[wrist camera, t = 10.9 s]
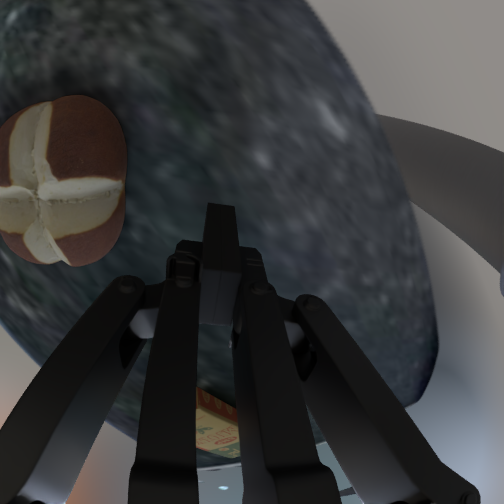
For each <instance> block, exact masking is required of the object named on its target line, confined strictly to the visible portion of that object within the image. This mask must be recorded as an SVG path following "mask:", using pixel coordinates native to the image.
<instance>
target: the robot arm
mask: <svg viewBox="0 0 504 504" xmlns="http://www.w3.org/2000/svg"><path fill="white" fill-rule="evenodd" d="M262 261H263V260H262V256H261V254H260V253H259V252H258V250H257V249H256V248H250V247H242V246H239V240H238V232H237V224H236V216H235V208H234V206H228V205H221V204H214V203H208V206H207V212H206V219H205V226H204V233H203V241H202V242H197V241H189V240H182V241H180V242H179V243H178V244H177V246H176V250H175V254H173V255H171V256H169V257H168V259H167V265H166V280H165V281H163V282H162V283H159V284H155V285H146V286H145V283H144V282H143V281H142V280H141V279H140V278H138V277H136V276H130V275H126V276H120V277H117V278H116V279H114V280H113V281H112V282H111V283H110V284H109V285H108V286H107V287H106V289H105V290H104V291H103V292H102V293H101V294H100V295H99V296H98V298H97V299H96V300H95V301H94V302H93V303H92V305H91V306H90V307H89V308H88V309H87V310H86V312H85V313H84V314H83V315H82V316H81V318H80V319H79V320H78V321H77V323H76V324H75V325H74V326H73V327H72V329H71V330H70V331H69V332H68V334H67V335H66V336H65V337H64V339H63V340H62V341H61V343H60V344H59V345H58V346H57V348H56V349H55V350H54V352H53V353H52V354H51V356H50V357H49V358H48V360H47V361H46V362H45V364H44V365H43V366H42V368H41V369H40V371H39V372H38V373H37V375H36V376H35V377H34V379H33V380H32V382H31V383H30V384H29V386H28V387H27V389H26V390H25V392H24V393H23V395H22V396H21V398H20V399H19V401H18V402H17V404H16V405H15V407H14V408H13V410H12V412H11V413H10V415H9V416H8V418H7V420H6V421H5V423H4V425H3V426H2V428H1V429H0V504H65V503H66V501H67V499H68V497H69V495H70V493H71V491H72V489H73V487H74V484H75V482H76V480H77V478H78V475H79V473H80V471H81V468H82V466H83V464H84V462H85V460H86V458H87V456H88V454H89V451H90V449H91V447H92V445H93V443H94V441H95V438H96V437H97V435H98V433H99V431H100V429H101V427H102V425H103V423H104V421H105V419H106V417H107V415H108V413H109V411H110V409H111V407H112V405H113V403H114V401H115V399H116V397H117V395H118V393H119V392H120V390H121V388H122V386H123V384H124V382H125V380H126V378H127V376H128V375H129V373H130V371H131V369H132V367H133V365H134V363H135V362H136V360H137V358H138V356H139V354H140V353H141V351H142V349H143V347H144V345H145V344H146V342H147V338H152V337H153V340H152V345H151V350H150V356H149V361H148V367H147V373H146V379H145V385H144V392H143V398H142V405H141V413H140V420H139V429H138V437H137V447H136V457H135V462H134V464H133V466H132V468H131V472H130V477H129V488H128V504H199V491H198V475H197V467H196V382H197V350H198V328H199V323H202V324H212V325H223V326H231V323H232V319H233V329H232V334H231V338H230V342H229V348H231V346H232V356H233V370H234V384H235V397H236V409H237V421H238V433H239V444H240V454H241V465H242V473H243V474H242V475H243V484H244V492H243V499H242V504H342V502H341V498H340V494H339V490H338V486H337V482H336V479H335V476H334V474H333V472H332V470H331V469H330V468H329V467H327V466H325V465H323V464H322V463H321V462H320V460H319V457H318V453H317V449H316V445H315V440H314V436H313V432H312V428H311V424H310V420H309V416H308V412H307V408H306V405H307V406H308V408H309V410H310V412H311V414H312V416H313V418H314V419H315V421H316V423H317V425H318V427H319V428H320V430H321V432H322V434H323V436H324V438H325V439H326V441H327V443H328V445H329V446H330V448H331V450H332V452H333V454H334V455H335V457H336V459H337V461H338V462H339V464H340V466H341V468H342V470H343V471H344V473H345V475H346V477H347V478H348V480H349V482H350V484H351V485H352V487H353V489H354V490H355V492H356V494H357V496H358V497H359V499H360V500H361V502H362V503H363V504H480V503H481V502H480V494H479V491H478V489H477V488H476V487H475V486H474V485H472V484H471V483H469V482H468V481H467V480H465V479H464V478H463V477H461V476H460V475H458V474H457V473H456V472H454V471H453V470H452V469H450V468H449V467H448V466H446V465H445V464H444V463H442V462H441V461H440V459H439V458H438V457H437V455H436V453H435V452H434V451H433V449H432V448H431V446H430V445H429V443H428V442H427V440H426V439H425V438H424V436H423V435H422V433H421V432H420V431H419V429H418V428H417V426H416V425H415V423H414V422H413V420H412V419H411V418H410V416H409V415H408V413H407V412H406V410H405V409H404V408H403V406H402V405H401V403H400V402H399V401H398V399H397V398H396V396H395V395H394V394H393V392H392V391H391V390H390V388H389V387H388V385H387V384H386V383H385V381H384V380H383V379H382V377H381V376H380V374H379V373H378V372H377V370H376V369H375V368H374V366H373V365H372V364H371V362H370V361H369V360H368V358H367V357H366V356H365V354H364V353H363V351H362V350H361V349H360V347H359V346H358V345H357V343H356V342H355V341H354V339H353V338H352V337H351V336H350V334H349V333H348V332H347V330H346V329H345V328H344V326H343V325H342V324H341V322H340V321H339V320H338V318H337V317H336V316H335V314H334V313H333V312H332V311H331V309H330V308H329V307H328V305H327V304H326V303H325V302H324V301H323V300H322V299H320V298H318V297H317V296H313V295H309V294H303V295H300V296H298V297H297V298H296V301H292V300H288V299H285V298H282V297H280V296H278V295H277V293H276V290H275V288H274V287H273V286H272V285H271V284H270V283H268V280H267V276H266V272H265V268H264V264H263V262H262ZM312 346H313V347H312ZM305 403H306V404H305Z"/></svg>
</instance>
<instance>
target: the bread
mask: <svg viewBox="0 0 504 504" xmlns="http://www.w3.org/2000/svg"><path fill="white" fill-rule="evenodd" d="M126 172H127V147H126V143H125V137H124V134H123V131H122V128H121V126H120V124H119V122H118V120H117V118H116V117H115V116H114V114H113V113H112V112H111V111H110V110H109V109H108V108H107V107H106V106H105V105H103V104H102V103H101V102H100V101H97V100H95V99H93V98H91V97H88V96H84V95H70V96H64V97H61V98H58V99H56V100H54V101H53V102H52V101H47V102H41V103H37V104H34V105H31V106H28V107H26V108H24V109H22V110H20V111H19V112H17V113H15V114H14V115H13V116H11V117H10V118H9V119H8V120H7V121H6V122H5V123H4V124H3V125H2V127H1V128H0V233H1V235H2V237H3V239H4V241H5V242H6V244H7V245H8V246H9V248H10V249H11V250H12V251H13V252H15V253H16V254H17V255H18V256H20V257H22V258H23V259H25V260H27V261H30V262H33V263H37V264H52V263H55V262H58V261H60V260H63V261H64V262H66V263H67V264H69V265H71V266H73V267H77V266H83V265H87V264H90V263H93V262H95V261H97V260H99V259H100V258H102V257H103V256H105V255H106V254H107V253H108V252H109V251H110V250H111V249H112V247H113V246H114V244H115V243H116V241H117V239H118V237H119V235H120V232H121V230H122V226H123V222H124V216H125V187H124V185H125V177H126Z"/></svg>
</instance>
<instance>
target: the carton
mask: <svg viewBox="0 0 504 504" xmlns="http://www.w3.org/2000/svg"><path fill="white" fill-rule="evenodd" d="M196 447H197V448H199V449H202V450H206V451H209V452H212V453H215V454H218V455H222V456H225V457H229V458H234V457H237V456H240V455H241V454H240V444H239V433H238V421H237V409H235V408H233V407H232V406H230V405H228V404H226V403H224V402H223V401H221V400H219V399H217V398H216V397H214V396H212V395H210V394H208V393H207V392H205V391H203V390H202V389H200V388H198V387H196Z"/></svg>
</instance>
